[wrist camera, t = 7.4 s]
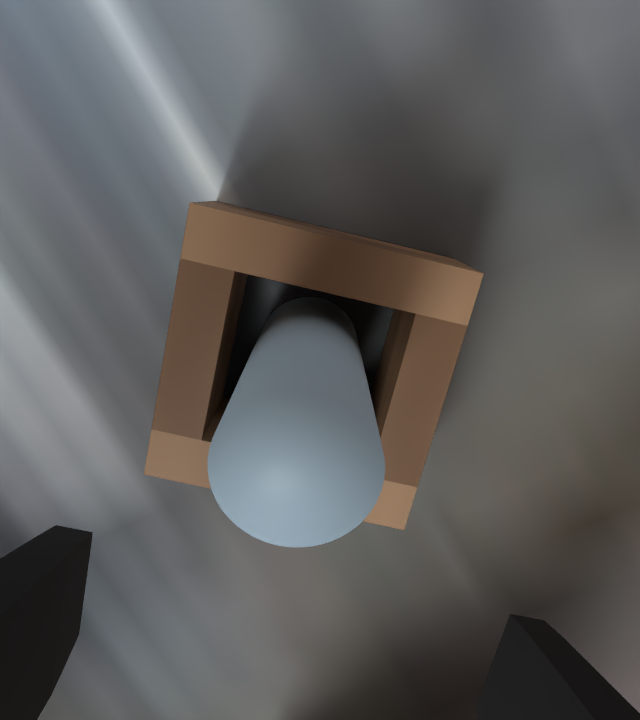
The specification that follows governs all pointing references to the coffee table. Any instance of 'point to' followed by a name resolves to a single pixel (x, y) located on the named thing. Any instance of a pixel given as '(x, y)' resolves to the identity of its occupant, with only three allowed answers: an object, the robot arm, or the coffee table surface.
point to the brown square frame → (322, 273)
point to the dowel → (299, 432)
